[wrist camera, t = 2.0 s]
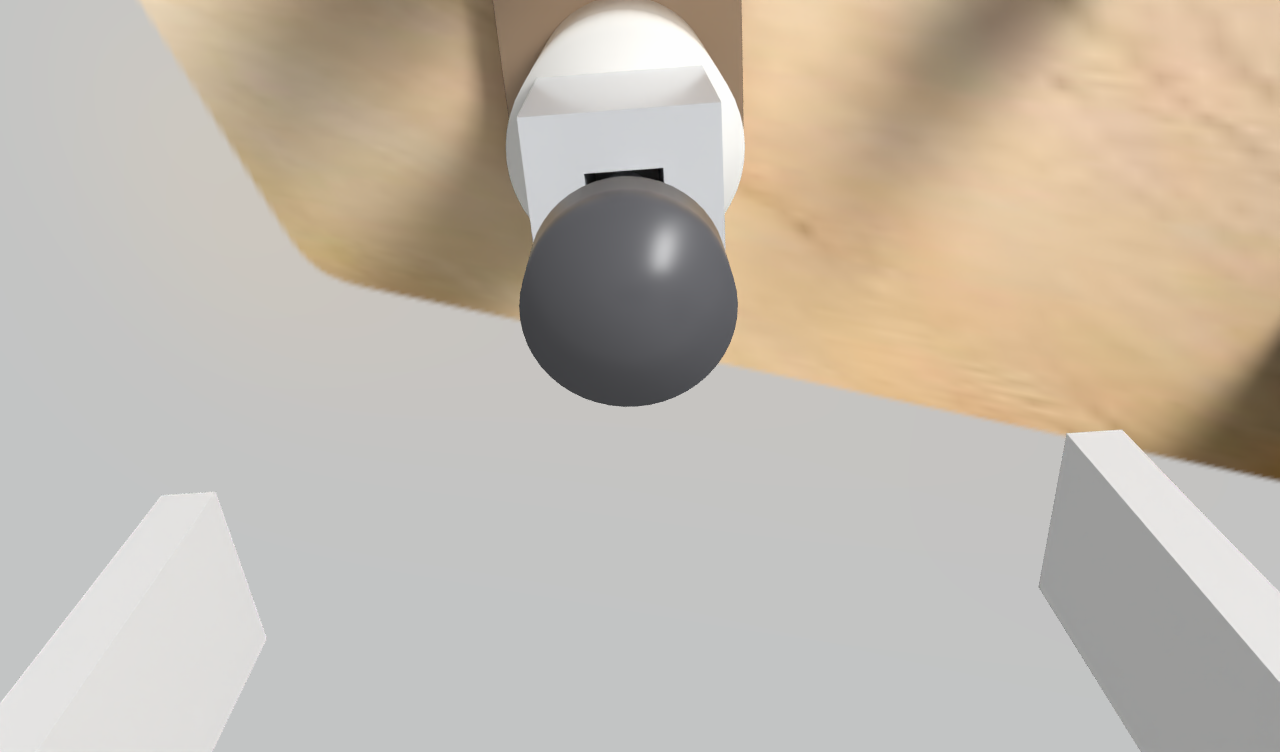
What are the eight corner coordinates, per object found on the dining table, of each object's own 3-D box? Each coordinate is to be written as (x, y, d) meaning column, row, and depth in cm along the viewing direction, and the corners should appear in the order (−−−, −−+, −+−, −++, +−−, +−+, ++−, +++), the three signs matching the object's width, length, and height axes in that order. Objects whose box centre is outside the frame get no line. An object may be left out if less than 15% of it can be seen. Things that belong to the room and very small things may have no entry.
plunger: (706, 262, 30) (739, 399, 22) (558, 273, 30) (534, 413, 22) (700, 110, 28) (735, 197, 19) (540, 122, 28) (505, 214, 19)
